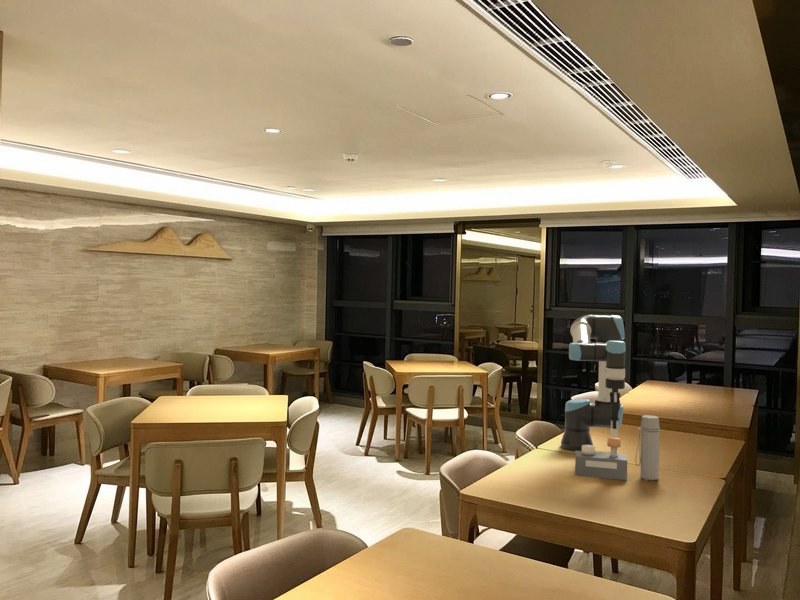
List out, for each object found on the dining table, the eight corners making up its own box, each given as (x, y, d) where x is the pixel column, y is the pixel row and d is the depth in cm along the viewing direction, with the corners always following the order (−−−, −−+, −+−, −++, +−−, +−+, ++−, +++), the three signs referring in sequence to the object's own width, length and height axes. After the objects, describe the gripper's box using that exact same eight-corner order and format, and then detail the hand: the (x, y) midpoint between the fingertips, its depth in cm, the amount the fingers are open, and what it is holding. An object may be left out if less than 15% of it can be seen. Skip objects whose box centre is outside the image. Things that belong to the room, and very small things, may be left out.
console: (575, 469, 271) (575, 450, 271) (625, 473, 265) (625, 454, 265) (575, 475, 261) (575, 456, 261) (627, 480, 255) (627, 460, 255)
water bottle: (655, 476, 263) (657, 415, 263) (661, 481, 255) (663, 418, 255) (632, 475, 264) (633, 414, 263) (637, 480, 256) (639, 418, 256)
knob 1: (581, 470, 268) (581, 444, 268) (594, 471, 266) (594, 445, 266) (581, 473, 263) (581, 447, 263) (594, 474, 261) (595, 448, 261)
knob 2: (606, 463, 265) (607, 436, 265) (619, 464, 264) (620, 437, 264) (607, 466, 260) (607, 439, 260) (620, 467, 259) (621, 440, 259)
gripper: (605, 376, 269) (604, 432, 269) (606, 379, 256) (604, 438, 257) (623, 377, 267) (622, 433, 267) (625, 380, 254) (624, 440, 254)
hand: (614, 436), depth 262 cm, fingers closed
